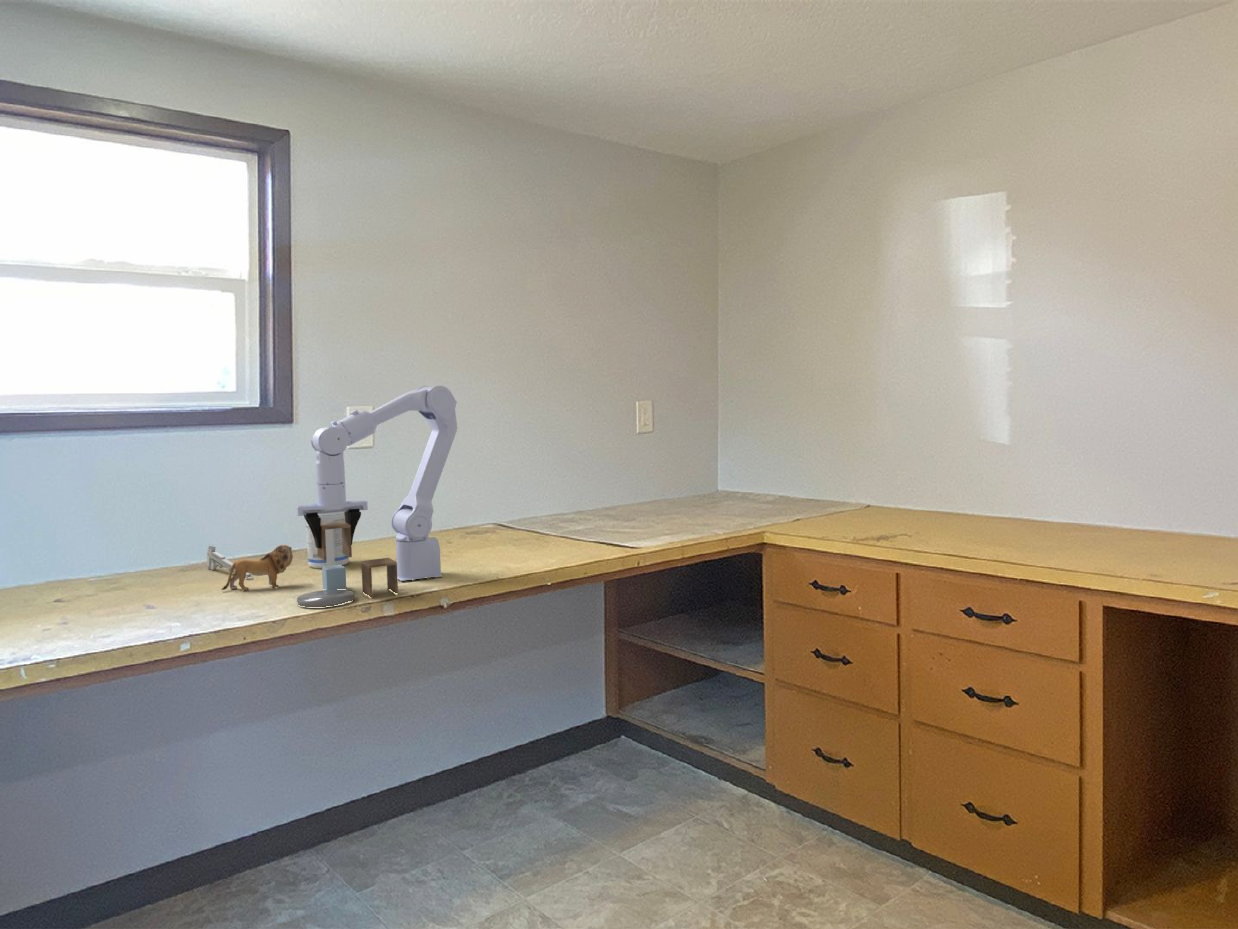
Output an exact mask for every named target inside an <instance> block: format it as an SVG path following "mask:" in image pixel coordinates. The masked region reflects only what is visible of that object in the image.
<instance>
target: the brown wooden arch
mask: <svg viewBox="0 0 1238 929" xmlns="http://www.w3.org/2000/svg"><path fill="white" fill-rule="evenodd" d="M337 528H342V551H343V554H345V555H346V556H348V557H349V558H352V557H353V556H352V555H353V554H352V550H353V549H352V545H351V525H350V524H348V523H346V522H344V521H343V522H332V523H321V526H320V534H321V548H317V551H318V556H319V557H320V558H321V559H323V560H326V539H325V530H327V529H337Z"/></svg>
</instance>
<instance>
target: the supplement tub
mask: <svg viewBox="0 0 1238 929" xmlns="http://www.w3.org/2000/svg"><path fill="white" fill-rule="evenodd" d="M339 509H342V508H339ZM326 510H338V509H325V510H324V511H326ZM345 512H346V511H345ZM318 515H319V517H320V518H321V523H332V522H343V521H344V522H345V515H344V512H334V513H323V514H318ZM304 520H305V519H304ZM305 533H306V546H307V547H306V549H307V550H306V551H307V562H308V566H309V567H311V568H313V569H322V567H324V566H333V565H343V566H345V565H347V564H348V563H349V561H350V557H348V556H346V555H345V554H343V551H342V528H337V529H327V530H325V539H326V560H323V559H321V558H320V557H319V556H318V551H317V547H316V544H315V540H314V537H313V534H312V531H311V529H310V527H309V525H308V523H307V521H306V520H305Z"/></svg>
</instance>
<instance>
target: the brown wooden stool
mask: <svg viewBox="0 0 1238 929" xmlns="http://www.w3.org/2000/svg"><path fill="white" fill-rule="evenodd" d="M360 562H361V585H362V586H361V587H362V593H363V592H364V593H365V594H367V595H369V596H370V597H372V596H373V577H372V576H373V575H372V574H373V573H372V568H381V567H386V580H387V581H386V584H387V585H386V586H387V590H388V589H391V590H392V591H393V592H395V593H398V594H399V586H398V584H399V583H398V581H399V580H398V579H397V561H396V560H394V559H392V558H390V557H384V558H383V557H382V558H375V559H367V560H365V559H364V560H361V561H360Z"/></svg>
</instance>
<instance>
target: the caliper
mask: <svg viewBox="0 0 1238 929" xmlns="http://www.w3.org/2000/svg"><path fill="white" fill-rule="evenodd" d="M206 552H207V553H206V566H207V570H208V569H210V571H211V570H213V571H216V570H217V567H219V569H221V568H226V569H227V570H228V571H230V569H231V566H232V565H233V563H234V562H231V561H230V560H229V559H227V558H226V556H225V555H223V554H221V553H220V552H218V551H216V546H214V545H213V544H211V545H208V549H207V551H206ZM235 571H236V569H235V568H234V570H233V573H234V574H235ZM233 573H232V574H233ZM245 578H247V579H246V580H248V579H253V578H254V577H253V575H252V574H250V573H247V572H246V577H245ZM253 580H254V579H253Z"/></svg>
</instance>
